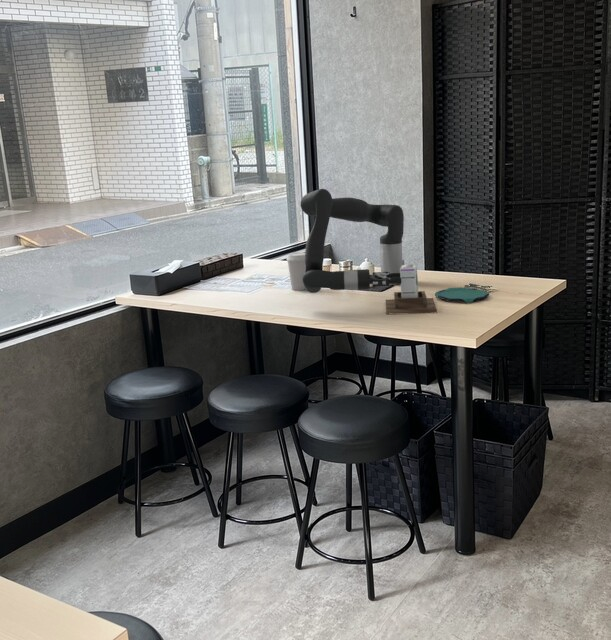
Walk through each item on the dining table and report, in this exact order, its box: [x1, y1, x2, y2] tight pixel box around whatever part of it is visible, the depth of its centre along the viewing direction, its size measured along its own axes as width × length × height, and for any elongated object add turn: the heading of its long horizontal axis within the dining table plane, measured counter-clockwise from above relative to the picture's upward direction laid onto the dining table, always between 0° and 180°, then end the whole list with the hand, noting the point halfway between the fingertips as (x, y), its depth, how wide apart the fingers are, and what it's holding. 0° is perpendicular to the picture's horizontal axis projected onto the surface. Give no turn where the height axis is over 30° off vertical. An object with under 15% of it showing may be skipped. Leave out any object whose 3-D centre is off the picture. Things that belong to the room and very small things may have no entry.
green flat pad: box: [434, 283, 493, 304], centre depth 301 cm, size 20×30×2 cm, turn 138°
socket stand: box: [385, 290, 438, 315], centre depth 286 cm, size 18×18×5 cm
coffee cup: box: [286, 252, 306, 291], centre depth 328 cm, size 10×10×15 cm
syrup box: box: [400, 264, 419, 298], centre depth 285 cm, size 6×6×14 cm
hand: (400, 278), depth 284 cm, fingers open, 8 cm apart
